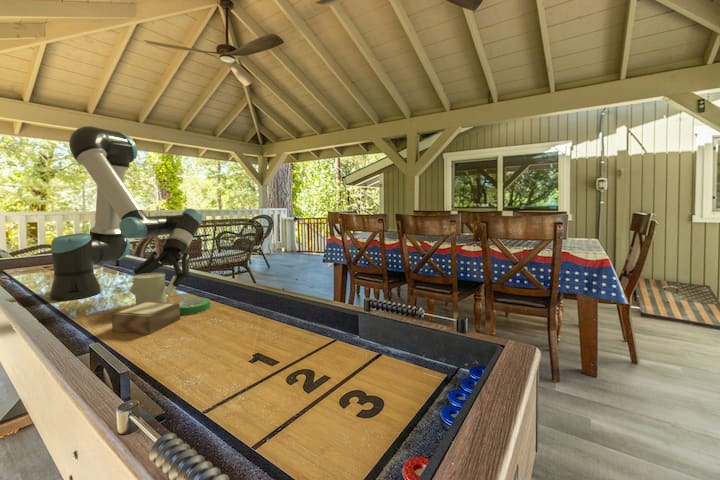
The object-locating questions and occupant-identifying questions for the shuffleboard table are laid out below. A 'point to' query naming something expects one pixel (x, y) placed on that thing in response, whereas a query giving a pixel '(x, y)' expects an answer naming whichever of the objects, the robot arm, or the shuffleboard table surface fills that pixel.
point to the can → (150, 288)
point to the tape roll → (197, 303)
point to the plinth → (145, 317)
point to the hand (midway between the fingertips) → (149, 293)
